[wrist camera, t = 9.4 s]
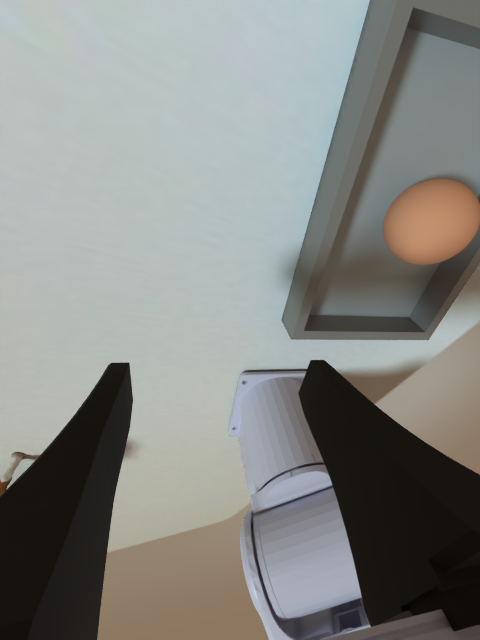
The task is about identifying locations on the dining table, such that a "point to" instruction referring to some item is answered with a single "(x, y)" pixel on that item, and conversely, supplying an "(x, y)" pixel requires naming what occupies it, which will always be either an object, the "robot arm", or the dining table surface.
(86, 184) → the dining table surface
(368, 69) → the walled pen
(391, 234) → the ball
